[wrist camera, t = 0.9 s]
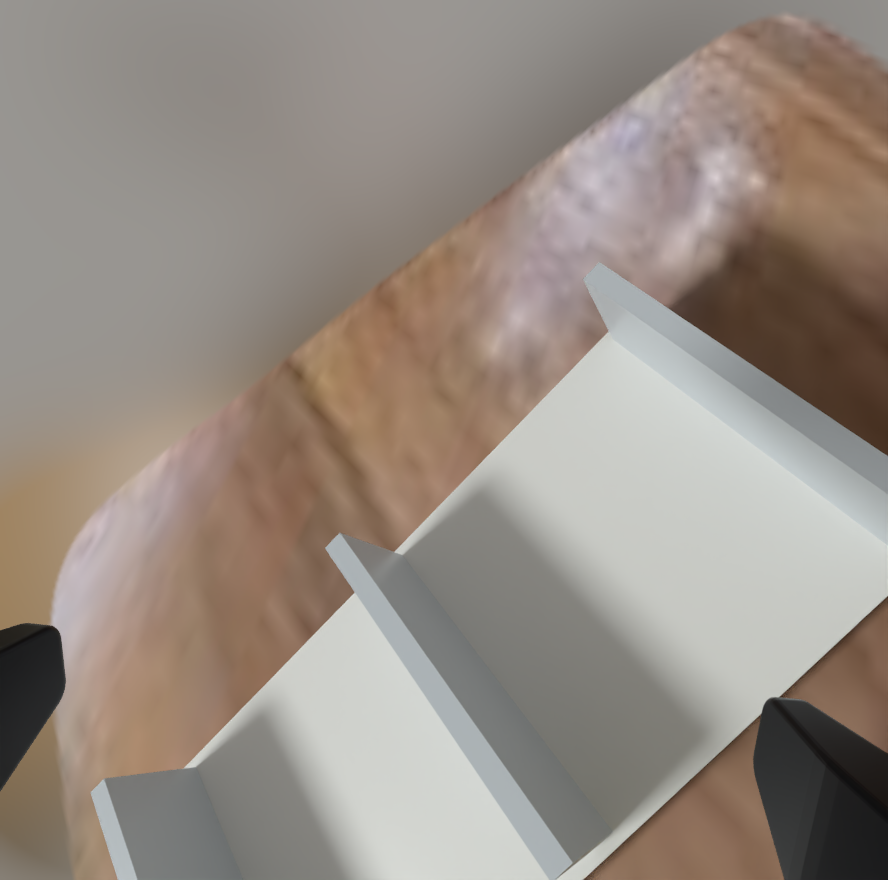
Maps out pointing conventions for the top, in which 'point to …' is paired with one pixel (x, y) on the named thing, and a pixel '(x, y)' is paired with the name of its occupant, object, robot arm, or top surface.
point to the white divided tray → (543, 635)
